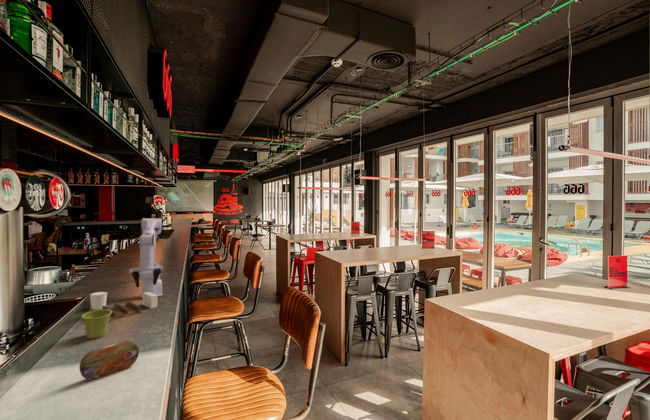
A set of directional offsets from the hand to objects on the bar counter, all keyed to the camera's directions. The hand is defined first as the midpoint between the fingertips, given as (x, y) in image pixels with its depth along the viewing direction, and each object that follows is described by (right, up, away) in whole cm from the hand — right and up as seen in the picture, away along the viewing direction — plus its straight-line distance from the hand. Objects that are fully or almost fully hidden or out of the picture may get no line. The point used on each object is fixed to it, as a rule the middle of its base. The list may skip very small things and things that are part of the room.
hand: (146, 285), depth 151 cm
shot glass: (-22, -10, -2) cm, 25 cm away
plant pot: (0, -12, -33) cm, 35 cm away
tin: (+23, -13, -58) cm, 63 cm away
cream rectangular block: (+1, -11, +2) cm, 11 cm away
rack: (-8, -11, -10) cm, 17 cm away
